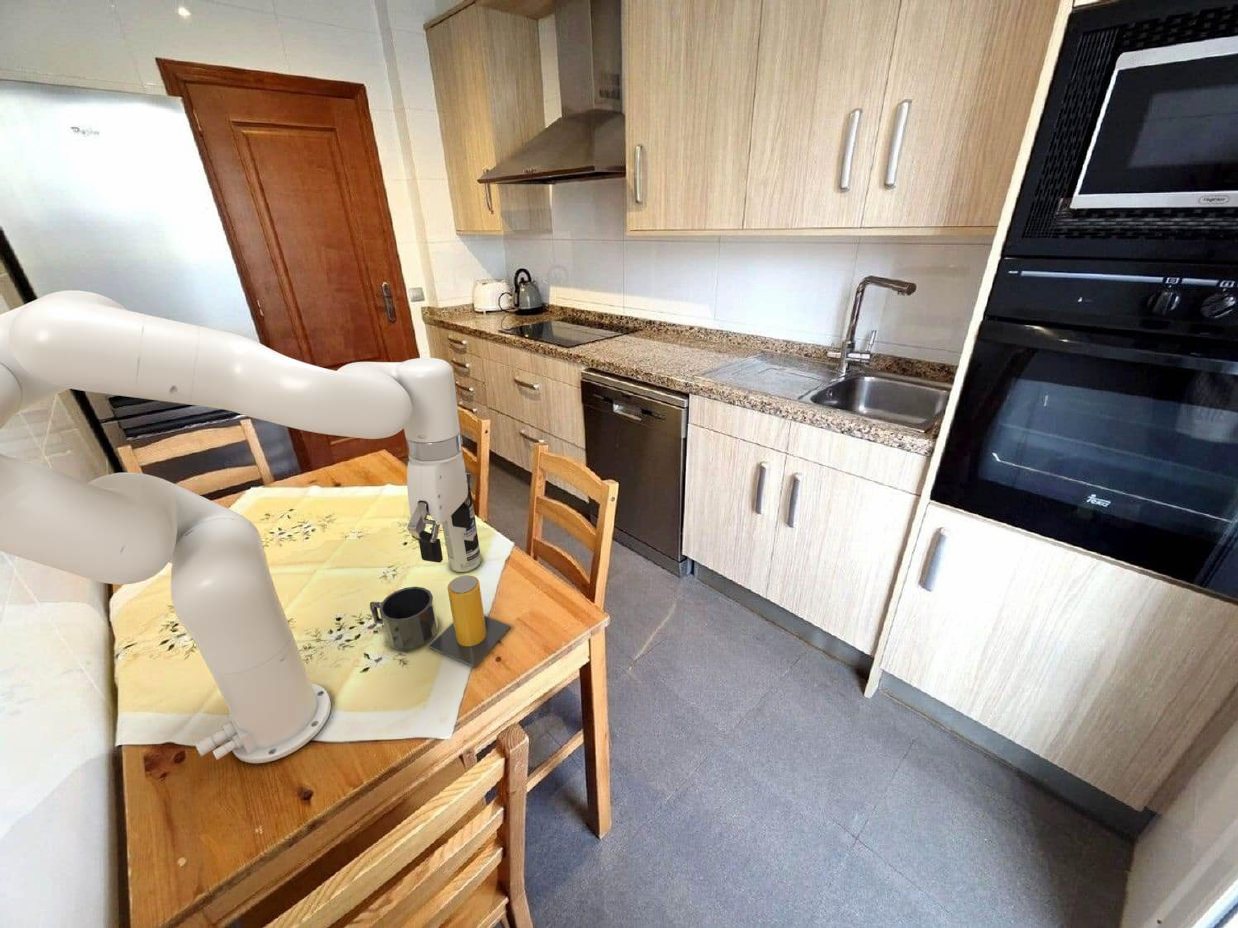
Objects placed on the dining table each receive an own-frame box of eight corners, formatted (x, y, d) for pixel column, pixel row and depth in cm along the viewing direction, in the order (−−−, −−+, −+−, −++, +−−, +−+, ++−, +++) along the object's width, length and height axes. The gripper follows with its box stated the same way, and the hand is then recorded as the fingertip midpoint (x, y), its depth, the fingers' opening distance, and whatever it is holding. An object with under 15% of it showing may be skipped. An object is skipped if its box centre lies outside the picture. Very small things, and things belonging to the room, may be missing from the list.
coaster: (475, 668, 84) (474, 665, 84) (429, 648, 88) (428, 645, 87) (510, 628, 92) (510, 625, 92) (467, 611, 96) (467, 609, 96)
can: (467, 651, 86) (458, 598, 81) (450, 636, 89) (440, 584, 84) (492, 634, 90) (485, 582, 85) (474, 620, 93) (467, 569, 88)
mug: (446, 619, 94) (441, 589, 91) (423, 654, 86) (416, 623, 83) (390, 611, 96) (382, 582, 93) (361, 645, 88) (353, 614, 85)
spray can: (472, 575, 105) (460, 492, 97) (443, 571, 107) (428, 488, 98) (486, 556, 111) (476, 476, 102) (458, 552, 112) (445, 473, 104)
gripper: (440, 422, 82) (451, 512, 89) (375, 467, 66) (395, 572, 73) (483, 426, 80) (491, 517, 88) (427, 473, 65) (443, 579, 72)
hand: (448, 542), depth 81 cm, fingers open, 9 cm apart
